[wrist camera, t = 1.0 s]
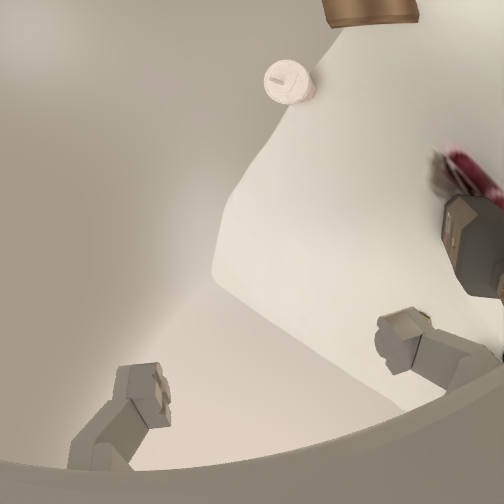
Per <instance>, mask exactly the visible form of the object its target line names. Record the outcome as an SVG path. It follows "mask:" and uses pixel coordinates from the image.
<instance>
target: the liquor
mask: <svg viewBox="0 0 504 504" xmlns="http://www.w3.org/2000/svg"><path fill="white" fill-rule="evenodd" d="M441 239H442V241H443V244H444V246H445V249H446V251H447V254H448V256H449V259H450V261H451V264H452V267H453V269H454V272H455V275H456V278H457V279H458V281H459V282H460V283H461V285H462V286H463V288H464V289H465V291H466V292H467V294H469V295H471V296H477V297H486V298H496V299H500V300H501V301H502V303H503V305H504V211H503V210H502V209H501V208H500V207H498V206H497V205H496V204H494V203H493V202H492V201H490V200H489V199H488V198H483V197H476V196H469V195H461V194H457V195H456V196H455V197H454V198H452V199H451V200H450V201H449V202H448V203H447V204H446V205H445V210H444V219H443V228H442V236H441Z"/></svg>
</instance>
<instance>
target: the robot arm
mask: <svg viewBox="0 0 504 504" xmlns="http://www.w3.org/2000/svg"><path fill="white" fill-rule="evenodd" d="M377 326H378V327H379V330H378V331H377V332H376V334H375V340H374V341H375V347H376V350H377V352H378V353H379V355H380V356H381V357H383V358H385V359H386V365H387V367H388V368H389V370H390V371H391V373H392V374H393V375H396V374H399V373H402V372H405V371H408V370H410V369H412V371H414V372H415V373H417V374H419V375H421V376H422V377H424V378H426V379H428V380H429V381H431V382H433V383H435V384H436V385H438V386H440V387H442V388H443V389H445V390H446V392H445V394H444V396H442V397H440V398H438V399H436V400H434V401H432V402H429V403H427V404H425V405H423V406H421V407H418V408H416V409H414V410H411V411H409V412H407V413H404V414H402V415H400V416H397V417H395V418H392V419H390V420H387V421H385V422H382V423H379V424H377V425H374V426H371V427H368V428H366V429H363V430H360V431H357V432H354V433H351V434H348V435H345V436H342V437H339V438H336V439H332V440H329V441H325V442H322V443H318V444H315V445H311V446H308V447H303V448H300V449H296V450H292V451H288V452H283V453H279V454H274V455H270V456H265V457H260V458H255V459H249V460H243V461H238V462H231V463H225V464H218V465H211V466H202V467H194V468H185V469H172V470H155V471H134V470H133V469H132V468H131V467H130V466H129V464H128V463H129V462H130V460H131V459H132V457H133V455H134V454H135V452H136V450H137V449H138V447H139V446H140V444H141V442H142V441H143V439H144V437H145V436H146V434H147V433H148V431H149V429H153V428H162V427H170V426H171V411H170V409H169V407H168V405H169V404H170V402H171V396H170V389H169V385H168V382H167V379H166V378H165V377H164V376H162V367H161V365H160V363H158V362H156V363H146V364H135V365H128V366H127V365H126V366H119V367H118V369H117V373H116V379H115V384H114V390H113V397H112V400H109V401H107V403H106V404H105V405H104V406H103V407H102V408H101V409H100V410H99V411H98V412H97V414H96V415H95V416H94V417H93V418H92V419H91V420H90V421H89V422H88V424H87V425H86V426H85V427H84V428H83V429H82V430H81V431H80V432H79V433H78V435H77V436H76V437H75V438H74V439H73V440H72V441H71V446H70V452H69V458H68V464H67V469H58V468H49V467H39V466H32V465H26V464H20V463H14V462H8V461H3V460H0V504H504V363H502V364H501V363H500V362H499V361H498V359H497V358H496V357H495V356H494V355H493V354H492V353H491V352H490V351H489V350H488V349H487V348H486V346H483V345H481V344H478V343H475V342H472V341H470V340H467V339H464V338H462V337H459V336H456V335H453V334H451V333H448V332H445V331H443V330H440V329H437V330H435V329H434V328H433V327H432V326H431V324H430V323H429V322H428V321H427V320H426V319H425V318H424V317H423V316H422V315H421V314H420V313H419V312H418V311H417V309H416V308H414V307H409V308H406V309H403V310H400V311H397V312H393V313H390V314H387V315H383V316H380V317H379V319H378V322H377Z"/></svg>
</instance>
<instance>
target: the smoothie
mask: <svg viewBox="0 0 504 504" xmlns="http://www.w3.org/2000/svg"><path fill="white" fill-rule="evenodd" d="M264 87H265V90H266V92H267V94H268V95H269V96H270V97H271V98H272V99H273V100H275V101H276V102H279V103H282V104H295V103H298V102H299V101H308V100H310V99H312V98H313V97H314V96H315V94H316V86H315V84H314V83H313V81H312V80H311V77H310V73H309V72H308V70H307V69H306V67H305V66H303V65H302V64H301V63H299V62H297V61H294V60H280V61H277V62H276V63H274V64H273V65H271V66H270V67H269V68H268V70H267V71H266V74H265V77H264Z"/></svg>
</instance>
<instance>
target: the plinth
mask: <svg viewBox="0 0 504 504" xmlns="http://www.w3.org/2000/svg"><path fill="white" fill-rule="evenodd" d="M322 2H323V7H324V11H325V16H326V20H327V22H328V24H329V25H330V27H331V28H332V29H333V28H341V27H350V26H360V25H373V24H392V23H418V20H419V11H418V8H417V4H416V1H415V0H322Z"/></svg>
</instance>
